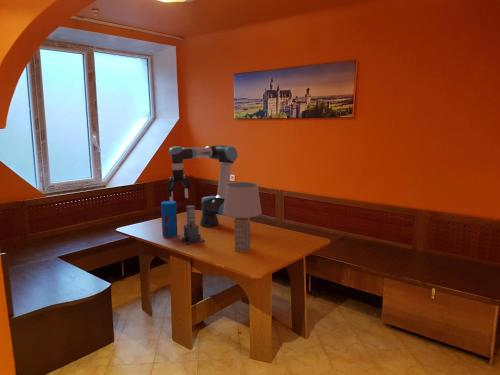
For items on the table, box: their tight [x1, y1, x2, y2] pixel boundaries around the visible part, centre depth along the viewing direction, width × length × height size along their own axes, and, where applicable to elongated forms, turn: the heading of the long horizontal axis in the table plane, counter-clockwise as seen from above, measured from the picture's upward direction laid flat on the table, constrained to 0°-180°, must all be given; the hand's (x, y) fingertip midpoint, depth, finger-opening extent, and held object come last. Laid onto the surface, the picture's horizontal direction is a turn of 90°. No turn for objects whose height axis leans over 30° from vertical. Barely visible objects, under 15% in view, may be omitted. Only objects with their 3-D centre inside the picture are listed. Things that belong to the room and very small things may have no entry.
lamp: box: [222, 181, 263, 253], centre depth 254 cm, size 25×25×44 cm
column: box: [185, 204, 196, 227], centre depth 274 cm, size 5×5×23 cm
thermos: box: [160, 200, 178, 239], centre depth 286 cm, size 11×11×25 cm
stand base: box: [177, 223, 206, 246], centre depth 275 cm, size 14×14×13 cm
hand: (179, 199), depth 272 cm, fingers open, 13 cm apart
